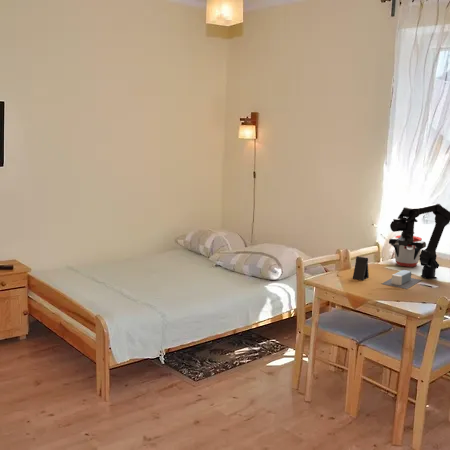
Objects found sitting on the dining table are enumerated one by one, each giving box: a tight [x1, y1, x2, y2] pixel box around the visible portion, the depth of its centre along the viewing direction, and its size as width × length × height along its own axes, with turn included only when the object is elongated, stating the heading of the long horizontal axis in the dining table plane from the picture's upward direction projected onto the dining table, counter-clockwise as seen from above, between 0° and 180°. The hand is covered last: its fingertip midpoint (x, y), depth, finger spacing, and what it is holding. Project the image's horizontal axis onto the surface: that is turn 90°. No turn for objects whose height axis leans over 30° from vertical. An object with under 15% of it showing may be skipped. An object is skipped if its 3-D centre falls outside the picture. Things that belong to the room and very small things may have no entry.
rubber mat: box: [381, 277, 422, 290], centre depth 299 cm, size 22×14×1 cm, turn 141°
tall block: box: [391, 269, 412, 285], centre depth 298 cm, size 5×5×14 cm
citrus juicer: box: [394, 235, 422, 268], centre depth 334 cm, size 16×17×20 cm
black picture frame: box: [352, 256, 370, 281], centre depth 305 cm, size 9×6×12 cm, turn 145°
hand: (406, 258), depth 300 cm, fingers open, 9 cm apart
